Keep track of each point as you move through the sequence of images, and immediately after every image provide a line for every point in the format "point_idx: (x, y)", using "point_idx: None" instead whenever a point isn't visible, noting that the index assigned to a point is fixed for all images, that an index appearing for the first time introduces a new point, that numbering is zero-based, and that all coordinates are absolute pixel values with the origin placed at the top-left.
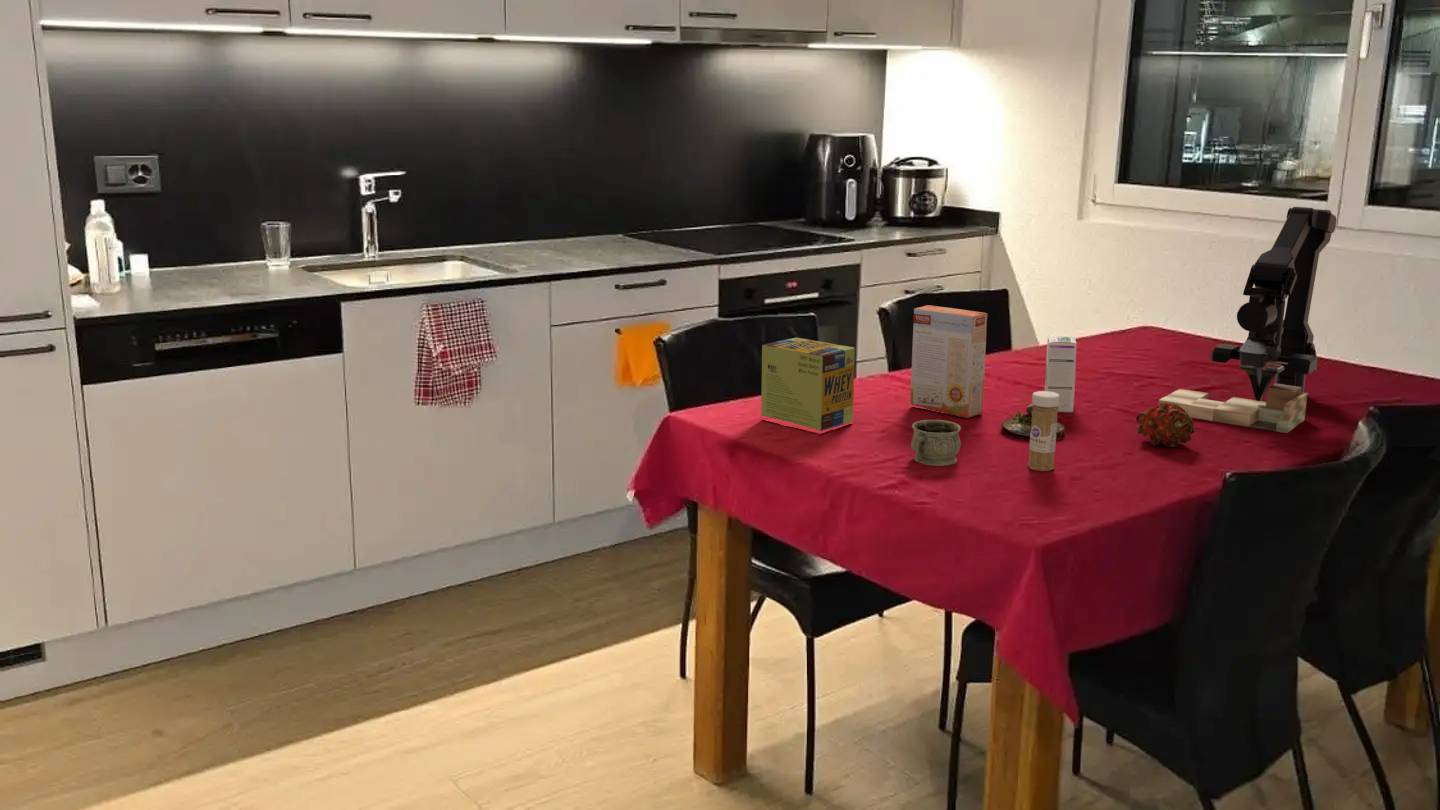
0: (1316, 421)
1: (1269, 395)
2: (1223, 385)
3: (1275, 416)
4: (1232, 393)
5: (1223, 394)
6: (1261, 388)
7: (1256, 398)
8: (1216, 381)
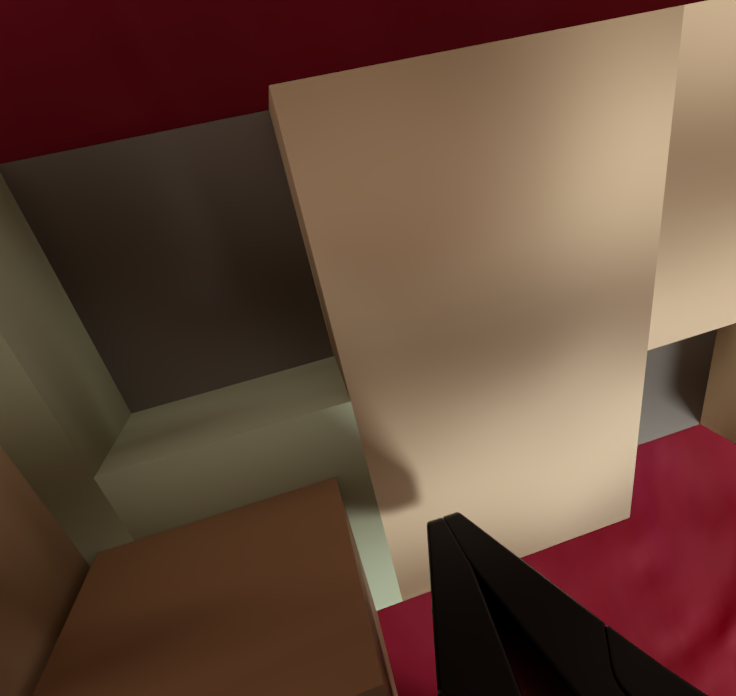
0: None
1: (332, 593)
2: (689, 678)
3: (199, 421)
4: (640, 641)
5: (666, 606)
6: (470, 642)
7: (460, 526)
8: (717, 688)
